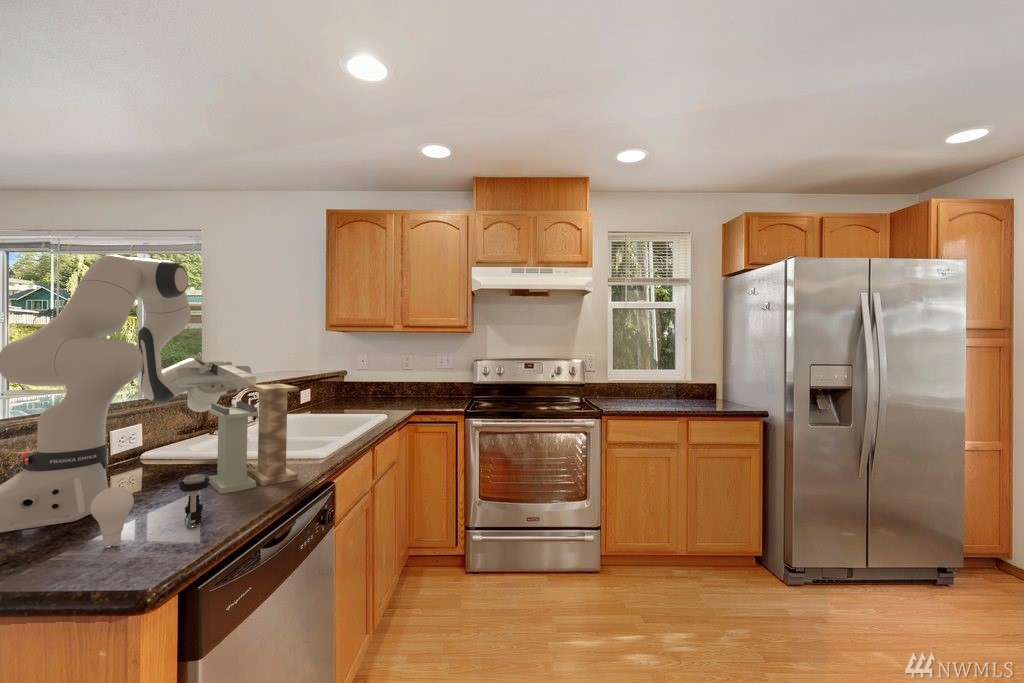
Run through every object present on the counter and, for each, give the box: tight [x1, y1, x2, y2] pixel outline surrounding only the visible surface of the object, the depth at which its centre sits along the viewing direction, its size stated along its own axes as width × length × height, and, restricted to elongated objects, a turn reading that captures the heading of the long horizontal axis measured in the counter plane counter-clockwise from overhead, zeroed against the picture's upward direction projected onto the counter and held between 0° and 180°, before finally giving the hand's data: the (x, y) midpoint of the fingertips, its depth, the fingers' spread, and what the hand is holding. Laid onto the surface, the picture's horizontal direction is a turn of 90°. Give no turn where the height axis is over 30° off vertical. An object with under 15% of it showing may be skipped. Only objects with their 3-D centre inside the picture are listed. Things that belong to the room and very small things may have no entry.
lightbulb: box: [90, 486, 135, 547], centre depth 84 cm, size 6×6×11 cm
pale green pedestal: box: [207, 400, 258, 495], centre depth 122 cm, size 8×14×22 cm, turn 45°
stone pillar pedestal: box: [247, 383, 300, 487], centre depth 129 cm, size 9×14×26 cm, turn 45°
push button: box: [178, 473, 210, 529], centre depth 95 cm, size 7×5×10 cm
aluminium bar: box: [209, 361, 257, 389], centre depth 133 cm, size 4×26×3 cm, turn 51°
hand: (219, 363), depth 139 cm, fingers closed on aluminium bar, 4 cm apart
